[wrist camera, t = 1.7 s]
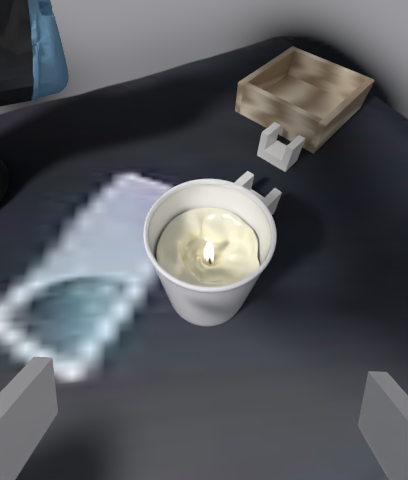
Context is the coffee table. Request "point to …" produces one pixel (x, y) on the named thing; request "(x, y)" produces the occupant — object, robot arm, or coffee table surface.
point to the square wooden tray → (302, 96)
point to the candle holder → (209, 247)
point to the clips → (273, 161)
